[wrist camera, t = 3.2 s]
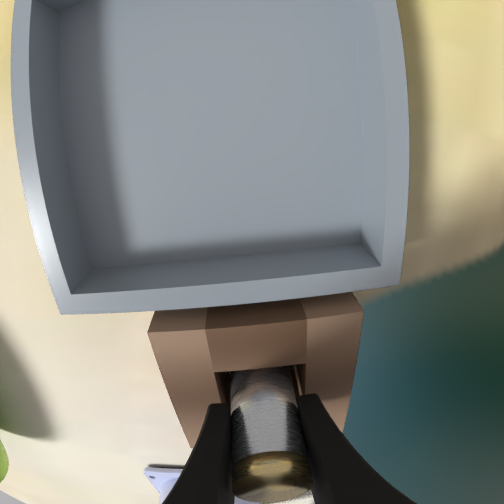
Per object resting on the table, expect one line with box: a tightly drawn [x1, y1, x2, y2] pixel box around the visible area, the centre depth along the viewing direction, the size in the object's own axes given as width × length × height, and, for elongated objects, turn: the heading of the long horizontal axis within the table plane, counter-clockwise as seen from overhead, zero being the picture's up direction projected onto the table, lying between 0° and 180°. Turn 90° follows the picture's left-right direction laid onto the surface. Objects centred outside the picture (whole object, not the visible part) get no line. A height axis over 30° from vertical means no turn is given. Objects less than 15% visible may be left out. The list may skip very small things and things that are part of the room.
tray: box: [11, 0, 409, 315], centre depth 9 cm, size 12×12×2 cm
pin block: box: [147, 292, 364, 448], centre depth 12 cm, size 7×7×3 cm
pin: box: [230, 365, 313, 503], centre depth 11 cm, size 2×2×7 cm
